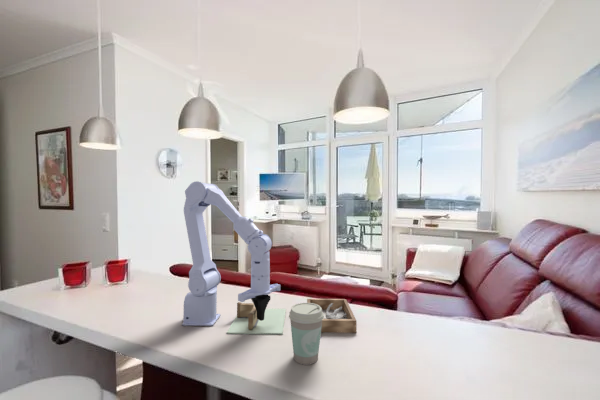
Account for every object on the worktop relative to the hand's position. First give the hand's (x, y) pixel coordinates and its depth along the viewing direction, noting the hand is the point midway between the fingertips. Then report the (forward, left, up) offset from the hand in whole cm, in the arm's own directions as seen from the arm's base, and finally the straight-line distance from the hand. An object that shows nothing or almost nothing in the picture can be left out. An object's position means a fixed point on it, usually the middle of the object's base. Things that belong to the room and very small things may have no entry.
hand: (260, 319), depth 81 cm
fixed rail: (-5, +6, -2) cm, 8 cm away
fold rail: (-2, 0, -1) cm, 3 cm away
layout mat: (-1, +4, -2) cm, 5 cm away
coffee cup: (+14, -16, -2) cm, 21 cm away
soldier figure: (+23, +3, -2) cm, 24 cm away
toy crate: (+22, +6, -2) cm, 22 cm away
